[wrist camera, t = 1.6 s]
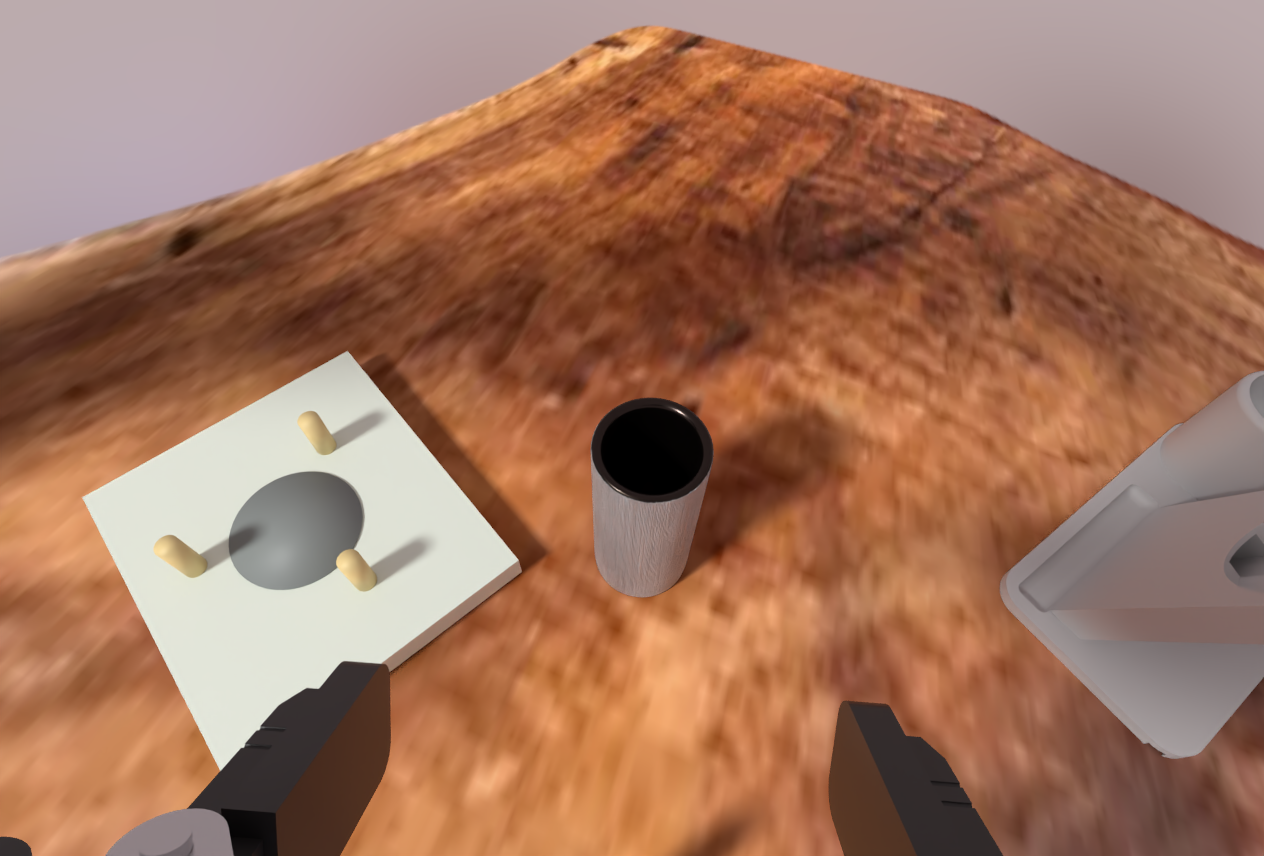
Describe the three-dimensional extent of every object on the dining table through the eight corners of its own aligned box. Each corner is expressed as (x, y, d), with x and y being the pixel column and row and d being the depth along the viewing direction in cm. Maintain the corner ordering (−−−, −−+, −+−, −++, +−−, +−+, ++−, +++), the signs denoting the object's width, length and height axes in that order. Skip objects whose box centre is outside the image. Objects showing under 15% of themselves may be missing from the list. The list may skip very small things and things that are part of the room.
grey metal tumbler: (673, 610, 33) (697, 517, 24) (582, 583, 33) (573, 482, 25) (696, 525, 35) (726, 413, 26) (610, 501, 36) (611, 383, 27)
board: (101, 511, 34) (46, 472, 31) (355, 367, 40) (332, 320, 36) (242, 784, 28) (192, 773, 25) (521, 571, 33) (512, 538, 30)
